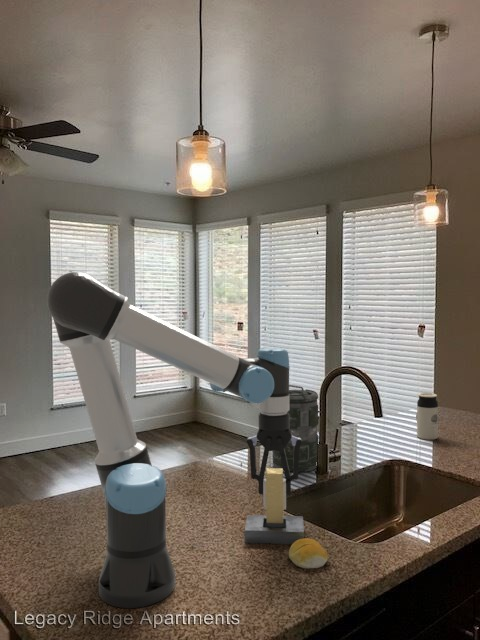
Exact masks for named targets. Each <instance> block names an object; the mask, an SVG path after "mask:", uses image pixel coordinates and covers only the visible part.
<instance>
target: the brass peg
mask: <svg viewBox="0 0 480 640" xmlns="http://www.w3.org/2000/svg"><path fill="white" fill-rule="evenodd" d="M265 479H266V509H265V510H266V513H265V514H266V516H267V523H283V516H284V509H283V479H284V471H283V469H278V468H276V467H274V468H271V467H270V468H268V467H266V469H265Z"/></svg>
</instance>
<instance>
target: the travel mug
mask: <svg viewBox="0 0 480 640" xmlns="http://www.w3.org/2000/svg"><path fill="white" fill-rule="evenodd" d="M417 395H418V400H417V401H416V402H417V403H416V405H417V408H416V409H417V410H416V411H417V412H416V413H417V415H416V416H417V417H416V419H417V421H416V437H418V439H421V440H426V441H428V440H429V441H434V440H436V439H438V437H439V436H438V435H439V433H438V430H439V429H438V425H439V424H438V423H439V421H438V418H439V416H438V413H439V410H438V409H439V407H438V405H439V402H438V401H437V397H438V394H435V393H433V392H432V393H431V392H421V393H417Z"/></svg>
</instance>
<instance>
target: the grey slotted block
mask: <svg viewBox="0 0 480 640" xmlns="http://www.w3.org/2000/svg"><path fill="white" fill-rule="evenodd" d="M304 527H305V526H304V517H303V516H302V515H301V516H298V515H294V516H293V515H283V523H267V516H266V515H265V514H263V515H262V514H261V515H260V514H259V515H257V514H247V515H246V520H245V526H244V543H245V544H269V543H271V545H272V544H273V545H274V544H276V545H280V544H281V545H292V544H293V543H294V542H295V541H297V540H299V539H305V528H304Z"/></svg>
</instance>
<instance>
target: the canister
mask: <svg viewBox="0 0 480 640" xmlns="http://www.w3.org/2000/svg"><path fill="white" fill-rule="evenodd" d="M290 387H291V388H296V389H289V411H288V413H289V415H290V432H291V434H292V436H295V437H297V438H298V437H300V438H301V440H302V443H301V446H300V448H299V465H298V472H303V473H308V472H311V471H314V470H316V469H315V468H317V467H316V462H317V444H318V443H319V435H318V425H319V404H318V399H319V395H318V393H317V391H315V390H311V389H304V386H300V385H294V384H289V388H290ZM285 453H286V458H287V462H288V467H289V471H290V472H293V457H294V446H293V445H292V441H291V440H290V441H289V443H288V444H287V445H286V447H285ZM272 465H273V466H274V468H278V469H283V466H282V461H281V456H280V452H279V451H275V450H273V451H272ZM307 471H308V472H307Z"/></svg>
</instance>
